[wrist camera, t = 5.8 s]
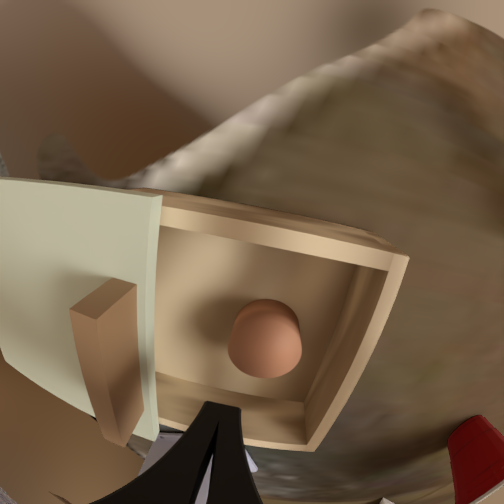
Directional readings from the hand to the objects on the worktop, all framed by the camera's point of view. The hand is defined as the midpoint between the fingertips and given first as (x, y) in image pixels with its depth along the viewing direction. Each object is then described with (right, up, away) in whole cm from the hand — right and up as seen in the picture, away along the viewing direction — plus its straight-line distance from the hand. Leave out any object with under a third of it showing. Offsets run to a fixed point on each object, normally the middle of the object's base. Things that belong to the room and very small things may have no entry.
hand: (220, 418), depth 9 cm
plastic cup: (+29, -16, +11) cm, 35 cm away
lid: (-11, +3, +3) cm, 12 cm away
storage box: (0, +2, +8) cm, 9 cm away
